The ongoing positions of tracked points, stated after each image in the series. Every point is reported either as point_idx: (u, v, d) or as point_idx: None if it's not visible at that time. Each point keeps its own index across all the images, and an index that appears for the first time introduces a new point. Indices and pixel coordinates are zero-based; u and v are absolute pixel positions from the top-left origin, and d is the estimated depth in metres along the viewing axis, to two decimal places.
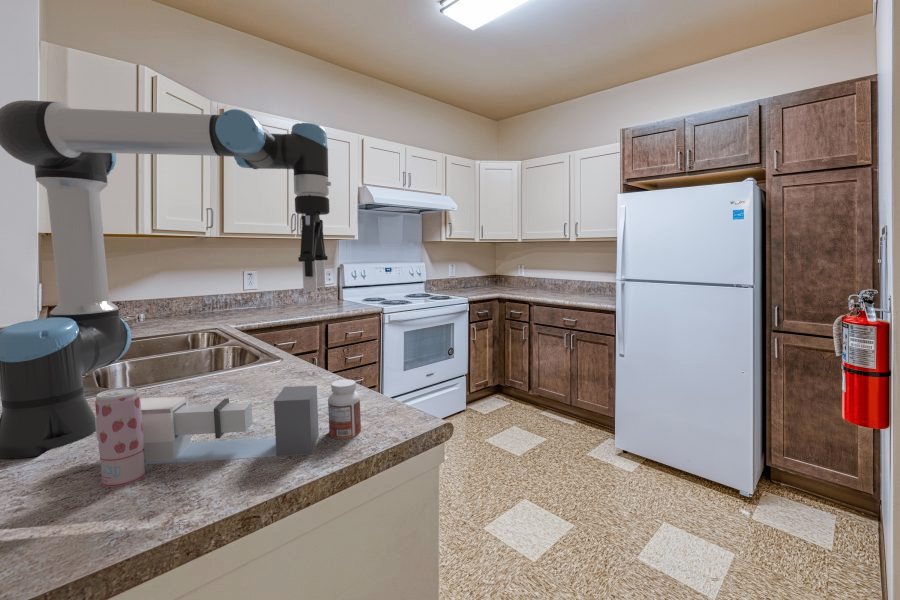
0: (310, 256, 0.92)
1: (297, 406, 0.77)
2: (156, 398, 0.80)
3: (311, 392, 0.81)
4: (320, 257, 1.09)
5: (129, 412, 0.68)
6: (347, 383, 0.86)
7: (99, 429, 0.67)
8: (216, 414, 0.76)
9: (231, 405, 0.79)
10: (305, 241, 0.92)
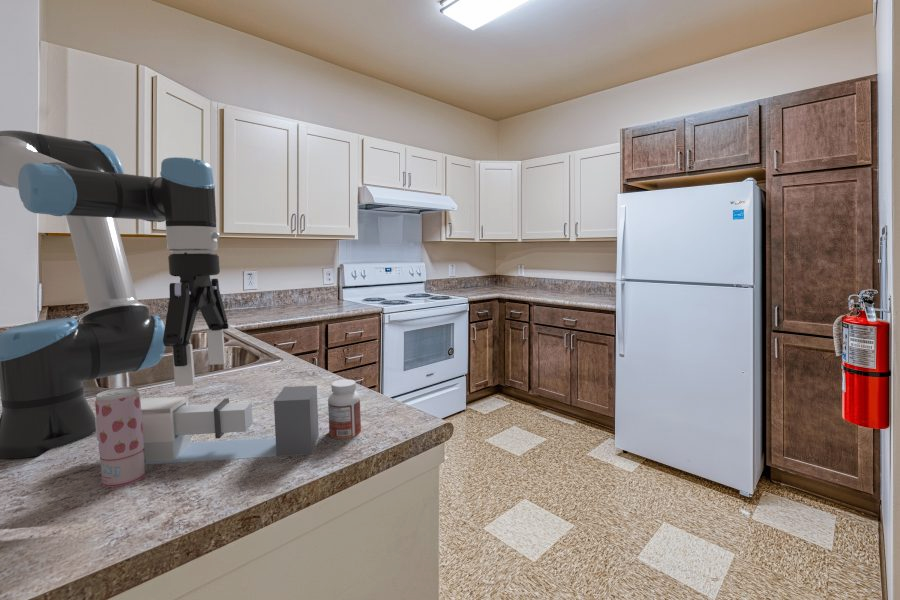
0: (177, 341, 0.67)
1: (297, 406, 0.77)
2: (156, 398, 0.80)
3: (311, 392, 0.81)
4: (217, 326, 0.84)
5: (129, 412, 0.68)
6: (347, 383, 0.86)
7: (99, 429, 0.67)
8: (216, 414, 0.76)
9: (231, 405, 0.79)
10: (172, 319, 0.68)
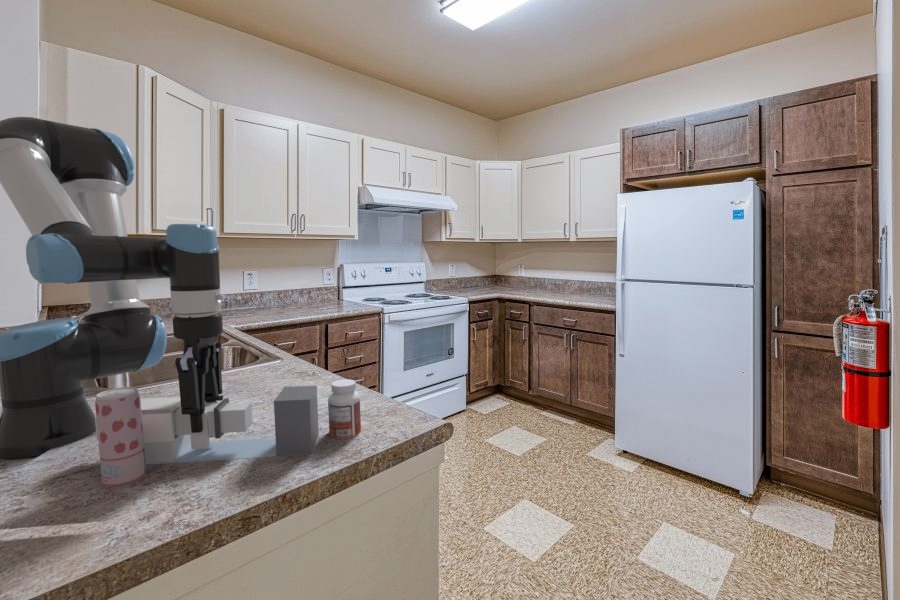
0: (195, 413, 0.73)
1: (297, 406, 0.77)
2: (156, 398, 0.80)
3: (311, 392, 0.81)
4: (212, 398, 0.81)
5: (129, 412, 0.68)
6: (347, 383, 0.86)
7: (99, 429, 0.67)
8: (216, 414, 0.76)
9: (231, 405, 0.79)
10: (185, 394, 0.72)
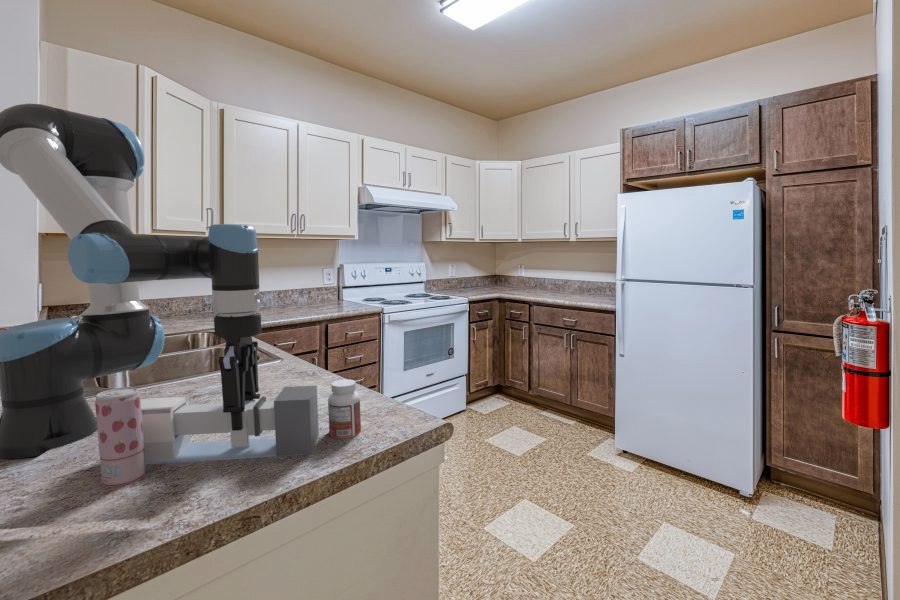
0: (236, 411, 0.74)
1: (297, 406, 0.77)
2: (156, 398, 0.80)
3: (311, 392, 0.81)
4: (249, 396, 0.82)
5: (129, 412, 0.68)
6: (347, 383, 0.86)
7: (99, 429, 0.67)
8: (256, 412, 0.77)
9: (269, 404, 0.80)
10: (228, 392, 0.73)
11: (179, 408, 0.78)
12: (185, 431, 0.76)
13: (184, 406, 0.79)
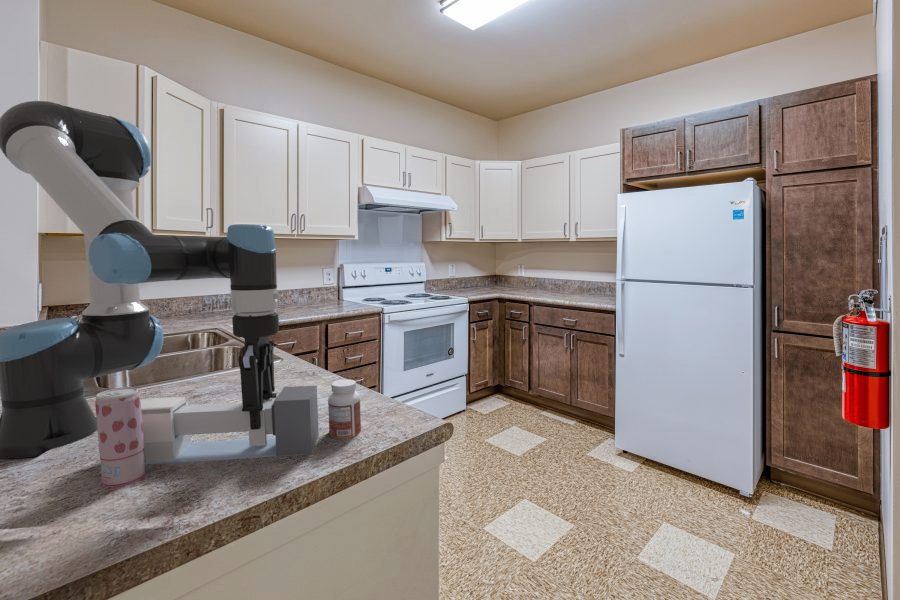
0: (255, 410, 0.74)
1: (297, 406, 0.77)
2: (156, 398, 0.80)
3: (311, 392, 0.81)
4: (266, 395, 0.82)
5: (129, 412, 0.68)
6: (347, 383, 0.86)
7: (99, 429, 0.67)
8: None
9: None
10: (247, 391, 0.73)
11: (197, 407, 0.79)
12: (203, 430, 0.77)
13: (202, 405, 0.79)
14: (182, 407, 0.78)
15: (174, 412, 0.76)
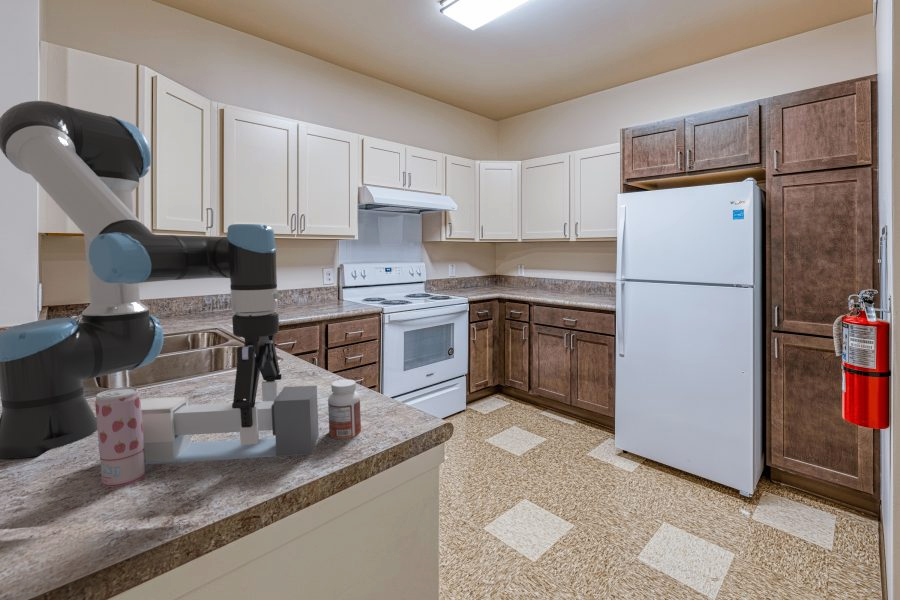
0: (246, 405, 0.69)
1: (297, 406, 0.77)
2: (156, 398, 0.80)
3: (311, 392, 0.81)
4: (271, 377, 0.86)
5: (129, 412, 0.68)
6: (347, 383, 0.86)
7: (99, 429, 0.67)
8: None
9: None
10: (240, 384, 0.70)
11: (197, 407, 0.79)
12: (204, 430, 0.77)
13: (202, 405, 0.79)
14: (182, 407, 0.78)
15: (174, 412, 0.76)
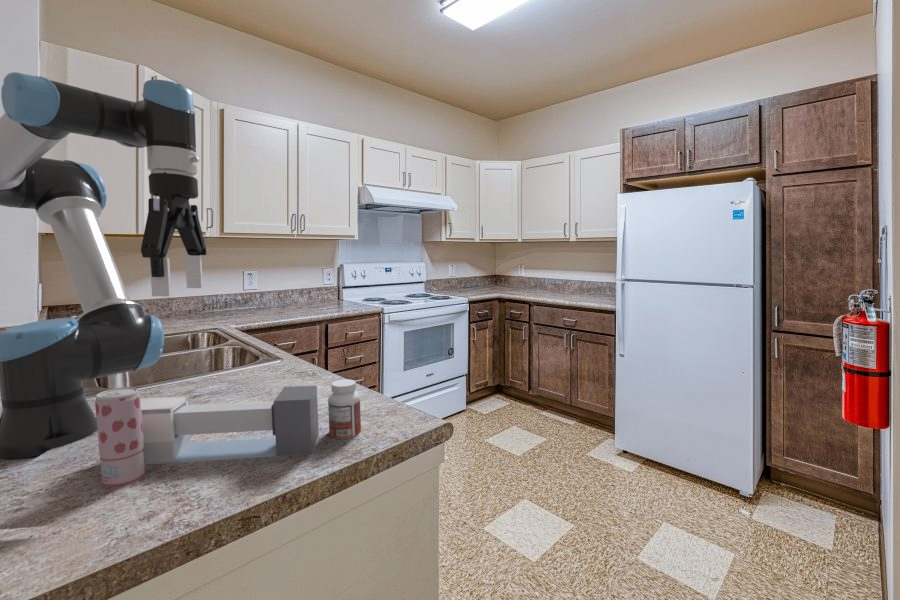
0: (154, 251, 0.71)
1: (297, 406, 0.77)
2: (156, 398, 0.80)
3: (311, 392, 0.81)
4: (196, 251, 0.88)
5: (129, 412, 0.68)
6: (347, 383, 0.86)
7: (99, 429, 0.67)
8: None
9: None
10: (150, 231, 0.72)
11: (197, 407, 0.79)
12: (204, 430, 0.77)
13: (202, 405, 0.79)
14: (182, 407, 0.78)
15: (174, 412, 0.76)
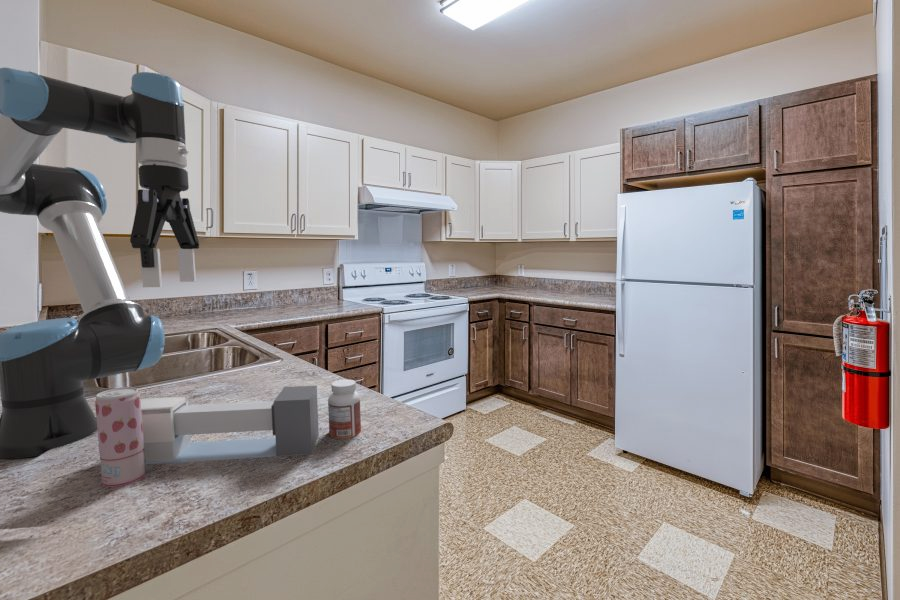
0: (144, 241, 0.71)
1: (297, 406, 0.77)
2: (156, 398, 0.80)
3: (311, 392, 0.81)
4: (188, 245, 0.88)
5: (129, 412, 0.68)
6: (347, 383, 0.86)
7: (99, 429, 0.67)
8: None
9: None
10: (139, 222, 0.72)
11: (197, 407, 0.79)
12: (204, 430, 0.77)
13: (202, 405, 0.79)
14: (182, 407, 0.78)
15: (174, 412, 0.76)
